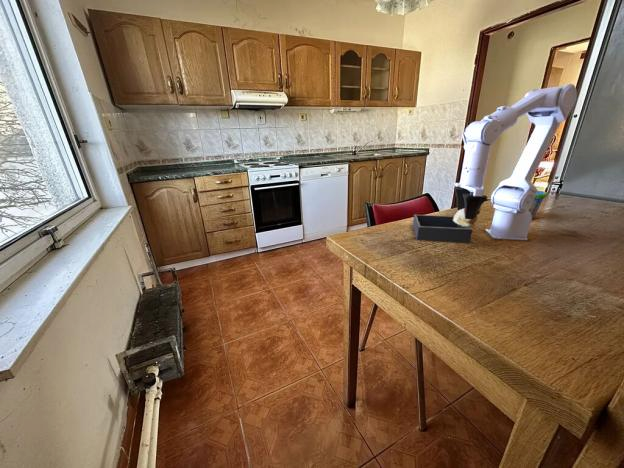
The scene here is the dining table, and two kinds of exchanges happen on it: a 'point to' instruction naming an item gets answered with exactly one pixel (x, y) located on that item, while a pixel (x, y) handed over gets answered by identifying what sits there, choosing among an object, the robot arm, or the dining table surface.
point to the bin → (440, 229)
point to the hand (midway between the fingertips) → (465, 214)
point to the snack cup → (536, 202)
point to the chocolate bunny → (461, 220)
